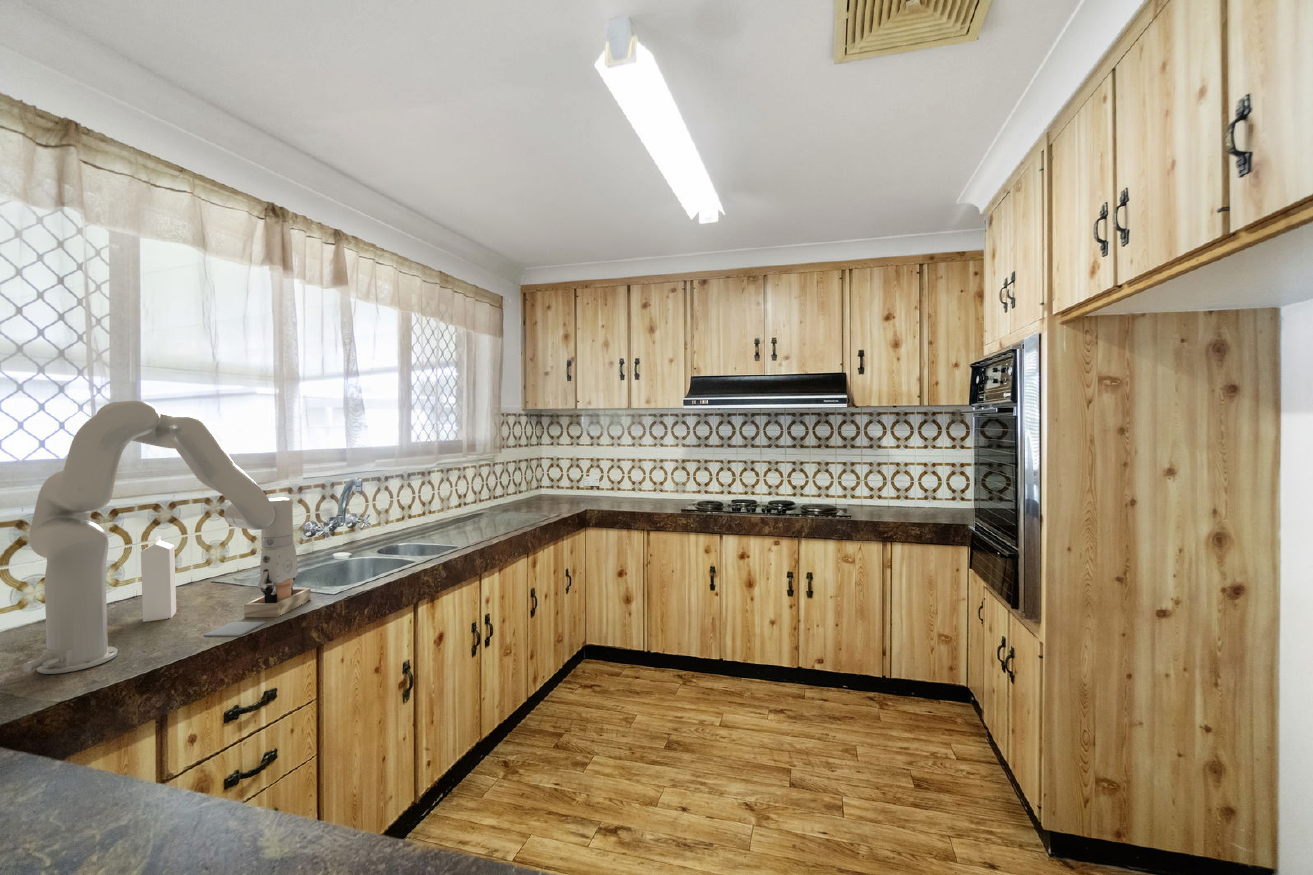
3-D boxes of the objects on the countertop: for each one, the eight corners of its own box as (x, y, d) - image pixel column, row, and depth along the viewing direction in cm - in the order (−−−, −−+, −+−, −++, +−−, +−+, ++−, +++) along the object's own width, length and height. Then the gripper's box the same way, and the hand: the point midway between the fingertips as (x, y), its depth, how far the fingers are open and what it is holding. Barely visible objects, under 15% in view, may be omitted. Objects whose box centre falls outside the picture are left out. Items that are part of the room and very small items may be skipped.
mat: (240, 636, 143) (240, 634, 143) (203, 636, 143) (203, 634, 143) (264, 623, 152) (264, 622, 152) (230, 623, 152) (230, 622, 152)
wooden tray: (277, 617, 157) (277, 604, 157) (244, 617, 157) (244, 604, 157) (310, 600, 172) (310, 588, 172) (280, 600, 172) (280, 588, 172)
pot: (283, 612, 161) (282, 583, 161) (258, 612, 161) (257, 583, 161) (299, 604, 168) (298, 576, 168) (275, 604, 168) (274, 576, 168)
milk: (142, 622, 154) (139, 540, 153) (148, 615, 159) (145, 536, 158) (172, 618, 157) (168, 537, 156) (177, 611, 162) (174, 533, 161)
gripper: (270, 548, 155) (271, 614, 156) (309, 535, 173) (310, 595, 173) (242, 548, 156) (244, 614, 156) (284, 535, 173) (285, 595, 173)
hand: (279, 604), depth 165 cm, fingers closed on pot, 6 cm apart
